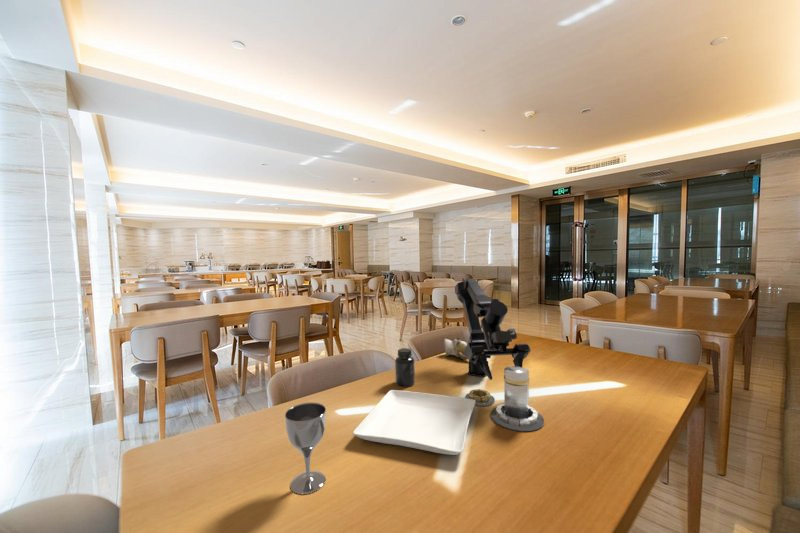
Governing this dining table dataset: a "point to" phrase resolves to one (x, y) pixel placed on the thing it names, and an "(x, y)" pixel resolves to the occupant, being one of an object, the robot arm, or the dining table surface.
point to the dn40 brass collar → (481, 397)
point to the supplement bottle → (404, 368)
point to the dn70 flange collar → (517, 420)
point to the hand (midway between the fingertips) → (506, 378)
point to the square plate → (419, 421)
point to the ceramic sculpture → (455, 347)
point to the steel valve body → (516, 392)
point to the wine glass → (306, 442)
